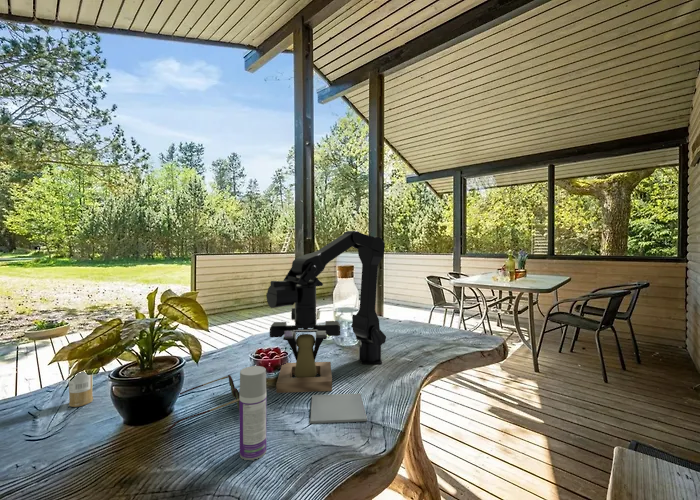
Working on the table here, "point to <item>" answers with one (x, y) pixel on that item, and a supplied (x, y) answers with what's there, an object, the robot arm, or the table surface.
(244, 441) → the container
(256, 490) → the table surface
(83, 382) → the sprinkles bottle
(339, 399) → the tile
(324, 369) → the holder
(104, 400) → the table surface
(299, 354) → the tan knobbed peg
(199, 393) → the table surface
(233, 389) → the sunglasses
